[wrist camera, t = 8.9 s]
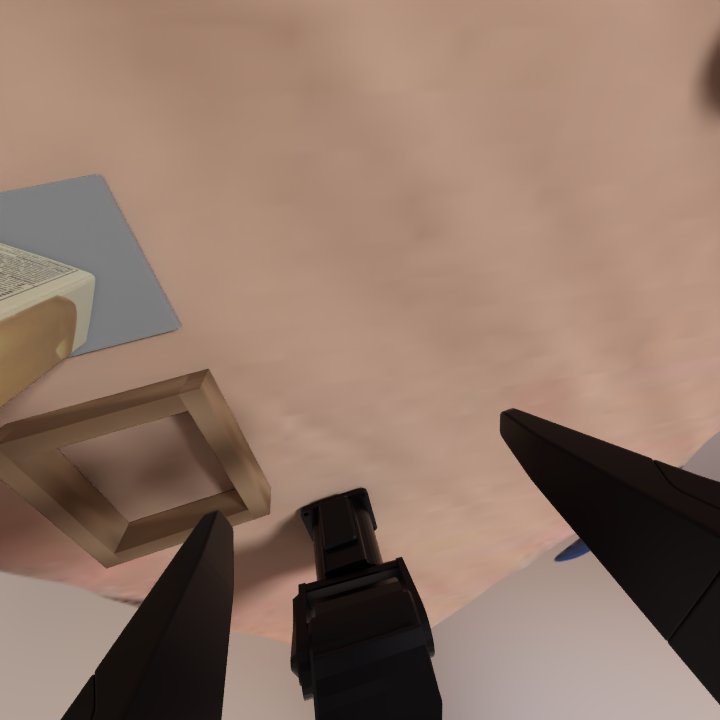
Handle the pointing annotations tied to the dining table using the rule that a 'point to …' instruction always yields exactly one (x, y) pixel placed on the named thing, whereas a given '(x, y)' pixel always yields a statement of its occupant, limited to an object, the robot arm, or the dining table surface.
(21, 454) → the walnut stand
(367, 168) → the dining table surface
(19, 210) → the grey mat
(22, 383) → the skincare box
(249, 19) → the dining table surface
